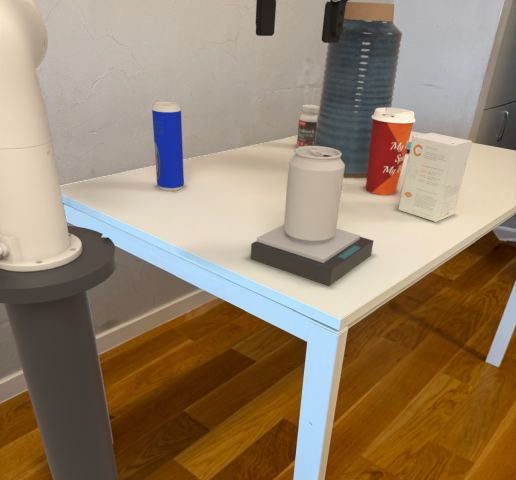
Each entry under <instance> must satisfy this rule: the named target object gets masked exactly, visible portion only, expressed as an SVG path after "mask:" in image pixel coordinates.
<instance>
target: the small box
mask: <svg viewBox="0 0 516 480" xmlns="http://www.w3.org/2000/svg"><path fill="white" fill-rule="evenodd" d="M411 142H412V143H411V148H410V153H408V157H407V158H408V159H407V164H406V168H405V173H404V177H403V183H402V188H401V193H400V198H399V203H398V211H401V212H404V213H407V214H410V215H413V216H416V217H420V218H423V219H426V220H428V221H432V222H435V223H437V222H439V221H441V220H444V219H446V218H449V217H451V216H453V215H454V213H455V209H456V206H457V203H458V197H459V195H460V190H461V186H462V182H463V178H464V175H465V171H466V167H467V164H468V163H467V162H468V161H469V160H468V159H469V155H470V152H471V148H472V144H473V140H469V139H465V138H459V137H455V136H450V135H445V134H440V133H435V132H428V133H423V134H417V135H413V136H412V138H411Z"/></svg>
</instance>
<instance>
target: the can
mask: <svg viewBox="0 0 516 480" xmlns="http://www.w3.org/2000/svg"><path fill="white" fill-rule="evenodd" d="M294 153H295V154H294V155H293V156H292V157H291V158H290V159H289V161H288V169H287V179H286V192H285V193H286V196H285V207H284V208H285V210H284V220H283V225H284V231H285V232H286V233H287V234H288V235H289V237H290V238H291V239H292V240H294V241H297V242H300V243H304V244H321V243H325V242H327V241H328V240H329V239H330V238H332V237H333V236H334V235H335V233H336V229H337V225H338V219H339V211H340V205H341V197H342V189H343V182H344V177H343V176H344V168H345V164H344V163H343V161H342V160H341V158H340V157H341V155H342V153H341V152H340V151H338V150H336V149H333V148H329V147H322V146H303V147H297V148H295V149H294Z"/></svg>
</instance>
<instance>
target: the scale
mask: <svg viewBox="0 0 516 480" xmlns="http://www.w3.org/2000/svg"><path fill="white" fill-rule="evenodd" d="M373 246H374V240H373V239H370V238H367V237H363V236H361V234H357V233H353V232H350V231H346V230H344V229H343V230H342V229H339V228H336V233H335V235H334V236H333V237H332V238H330V239H329V240H328V241H327V242H325V243H321V244H304V243H300V242H297V241H294V240H292V239H291V238H290V237H289V235H288V234H287V233H286V232H285V231H284V224H282V225H279V226H277V227H275V228H274V229H272V230H269V231H267V232H266V233H264V234H262V235H260V236H257V237H256V241H254V242H251V245H250V260H253V261H256V262H259V263H261V264H265V265H267V266H270V267H273V268H276V269H279V270H282V271H286V272H288V273H291V274H293V275H296V276H299V277H302V278H305V279H309V280H311V281H314V282H317V283H320V284H322V285H326V286H327V287H328V286H332V285H333V284H334V283H336V282H337V281H338V280H340V279H341V278H342V277H344V276H345V275H346V274H348V273H349V272H350V271H352V270H353V269H354V268H356V267H357V266H359V265H360V264H361V263H363V262H364V261H365V260H367V259H368V258H369V257H371V256H372V253H373V252H372V251H373Z"/></svg>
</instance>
